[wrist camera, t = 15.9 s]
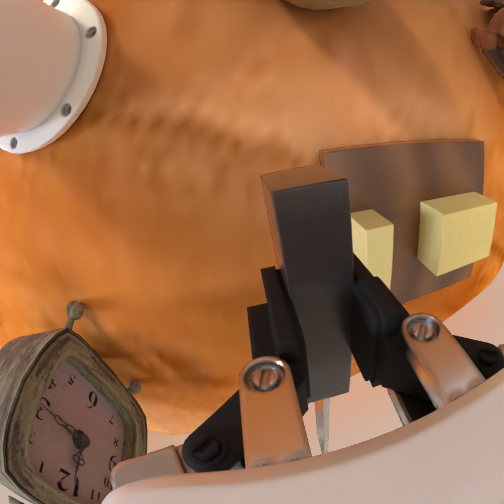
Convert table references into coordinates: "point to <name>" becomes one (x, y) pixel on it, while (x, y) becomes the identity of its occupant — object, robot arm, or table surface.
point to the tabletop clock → (64, 418)
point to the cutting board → (409, 196)
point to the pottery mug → (492, 35)
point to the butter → (455, 231)
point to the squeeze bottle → (326, 3)
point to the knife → (316, 273)
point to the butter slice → (373, 243)
